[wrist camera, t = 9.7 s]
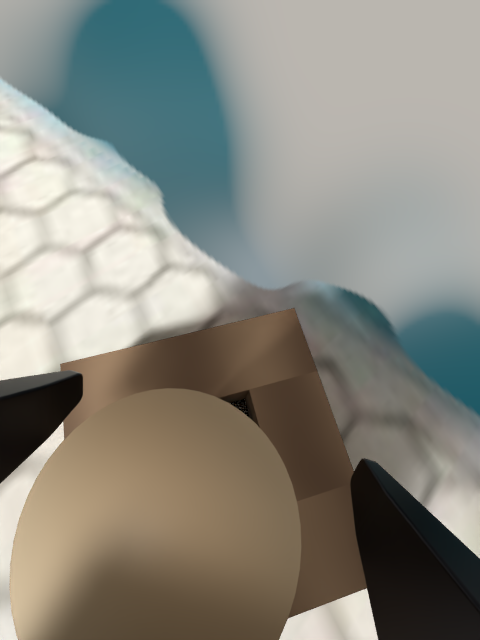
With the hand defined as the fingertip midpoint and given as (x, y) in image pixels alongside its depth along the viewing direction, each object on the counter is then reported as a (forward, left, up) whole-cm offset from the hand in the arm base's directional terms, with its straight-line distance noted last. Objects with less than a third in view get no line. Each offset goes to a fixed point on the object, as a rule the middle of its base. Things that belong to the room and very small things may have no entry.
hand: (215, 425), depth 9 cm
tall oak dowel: (-1, -1, -9) cm, 9 cm away
